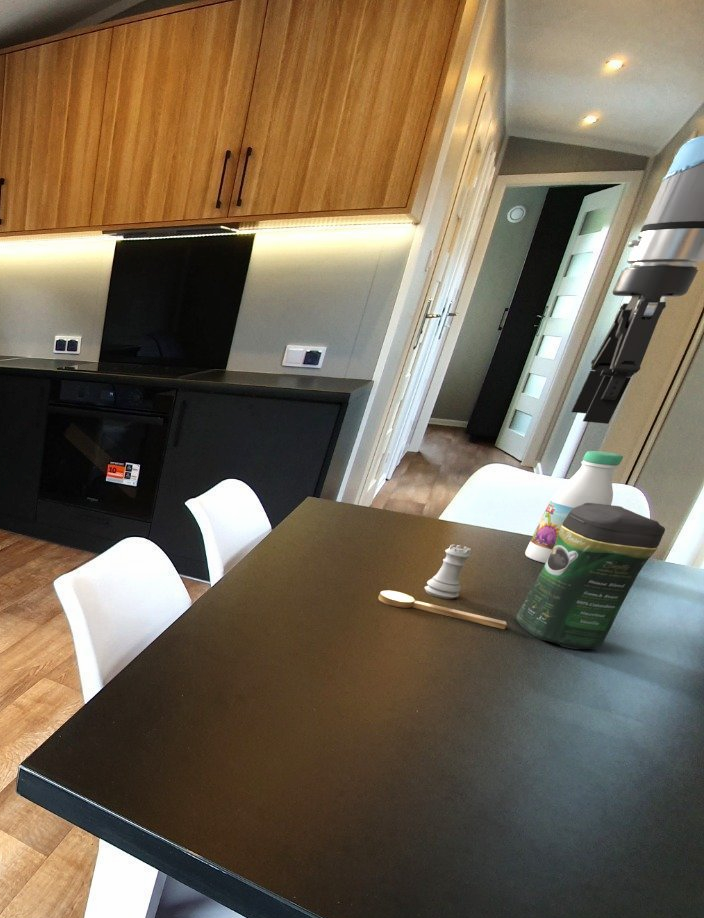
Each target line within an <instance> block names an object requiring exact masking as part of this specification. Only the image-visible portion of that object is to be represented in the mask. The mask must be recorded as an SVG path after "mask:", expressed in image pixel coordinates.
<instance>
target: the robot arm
mask: <svg viewBox="0 0 704 918" xmlns="http://www.w3.org/2000/svg"><path fill="white" fill-rule="evenodd" d="M658 188H659V189H658V190H657V193H656V195H655V198H654V199H653V202H652V204H651V207H650V208H649V211H648V214H647V216H646V218H645V220H644V223H643V225H642V227H641V229H640V233H639V234H638V237H637V239H631V240H630V241H629V242H628V245H627V247H629V248H634V249H632V250H631V251H630V253H629V256H628V258H627V260H626V263H628V264H630V267H625V268H624V269H622V270H621V272H620V274H619V276H618V278H617V280H616V283H615V285H614V287H613V290H612V295H613V296H616V297H631V298H630V300H629V302H628V303H626V302H624V303H623V304H622V305H620V307H619V310H618V311H617V313H616V315H615V318H614V321H613V323H612V325H611V326H610V328H609V330H608V332H607V334H606V336H605V337H604V340H603V341H602V343H601V345H600V346H599V348H598V350H597V352H596V353H595V356H594V357H593V359H591V362H590V364H591V366H590V370H589V372H588V375H587V377H586V379H585V381H584V383H583V385H582V387H581V389H580V392H579V394H578V395H577V398H576V400H575V402H574V404H573V406H572V408H571V411H570V412H571V413H575V414H576V413H577V414H585V415H584V417H583V419H582V422H585V423H597V424H606V425H608V424H609V423H610V422H611V420H612V418H613V416H614V414H615V412H616V409H617V407H618V405H619V403H620V401H621V399H622V397H623V395H624V393H625V392H626V389H627V387H628V385H629V383H630V381H631V379H632V377H633V376H634V375H635V374H637V373H638V372H639V371H640V370H641V365H642V363H643V360H644V357H645V355H646V352H647V350H648V347H649V345H650V343H651V339H652V337H653V335H654V332H655V330H656V326H657V324H658V321H659V319H660V317H661V315H662V313H663V311H664V309H665V308H666V306H667V303H666V301H661V299H662V298H664V297H666V298H667V297H669V298H671V297H676V298H677V297H682V296H684V295H686V294H687V293H688V292H689V290H690V287H691V285H692V284H693V282H694V279H695V277H696V276H697V274H698V271H699V269H698V267H697V266H696V265H697V264H699V263H701V262H703V261H704V135H700V136H698V137H694V138H691V139H690V140H688V141H687V142H685V143H684V144H683V145H682V146H681V147H680V148H679V150H678V152H677V154H676V156H675V157H674V160H673V161H672V163H671V165H670V167H669V169H668V171H667V173H666V175H665V176H663V178H662V180H661V183H660V186H659V187H658Z"/></svg>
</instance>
